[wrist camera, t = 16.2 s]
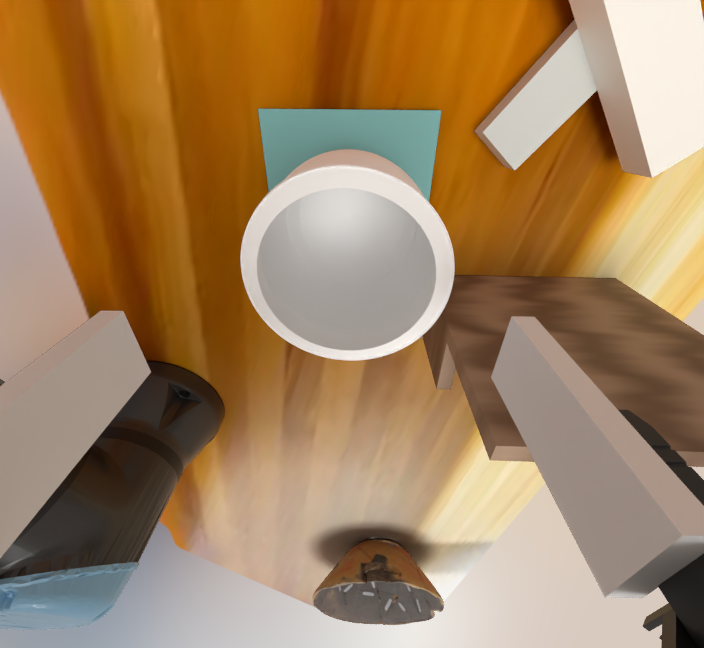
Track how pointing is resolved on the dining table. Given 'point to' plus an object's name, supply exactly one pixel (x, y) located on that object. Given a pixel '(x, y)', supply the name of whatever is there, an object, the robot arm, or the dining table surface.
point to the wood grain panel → (574, 353)
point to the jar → (347, 257)
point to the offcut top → (647, 77)
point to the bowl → (378, 587)
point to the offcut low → (539, 101)
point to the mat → (350, 138)
